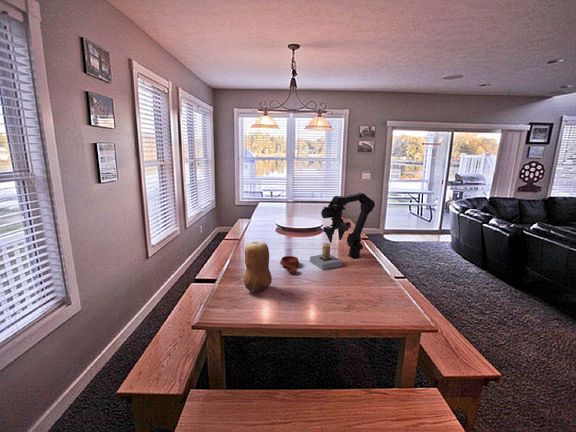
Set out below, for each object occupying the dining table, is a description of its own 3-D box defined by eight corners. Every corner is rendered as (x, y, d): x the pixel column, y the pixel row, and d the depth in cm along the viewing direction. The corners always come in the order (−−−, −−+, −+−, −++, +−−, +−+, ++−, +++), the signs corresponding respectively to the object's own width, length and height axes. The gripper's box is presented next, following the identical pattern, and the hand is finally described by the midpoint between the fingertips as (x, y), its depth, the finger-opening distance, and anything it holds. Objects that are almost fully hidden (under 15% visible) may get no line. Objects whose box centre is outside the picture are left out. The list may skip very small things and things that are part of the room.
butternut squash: (257, 281, 155) (257, 236, 149) (277, 290, 146) (277, 242, 141) (237, 291, 144) (237, 242, 138) (257, 300, 136) (257, 249, 130)
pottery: (298, 262, 183) (298, 255, 182) (302, 275, 164) (303, 268, 163) (279, 262, 182) (279, 255, 181) (281, 276, 163) (281, 268, 162)
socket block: (328, 258, 190) (328, 253, 189) (341, 266, 178) (342, 260, 177) (309, 261, 184) (310, 256, 183) (322, 270, 172) (322, 264, 171)
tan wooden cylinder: (328, 262, 183) (329, 243, 180) (330, 265, 179) (331, 245, 176) (320, 262, 183) (321, 243, 180) (322, 265, 178) (324, 246, 175)
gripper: (337, 221, 168) (336, 247, 171) (357, 217, 180) (355, 241, 183) (323, 217, 176) (321, 242, 179) (342, 214, 188) (341, 237, 191)
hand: (335, 241), depth 183 cm, fingers open, 9 cm apart
